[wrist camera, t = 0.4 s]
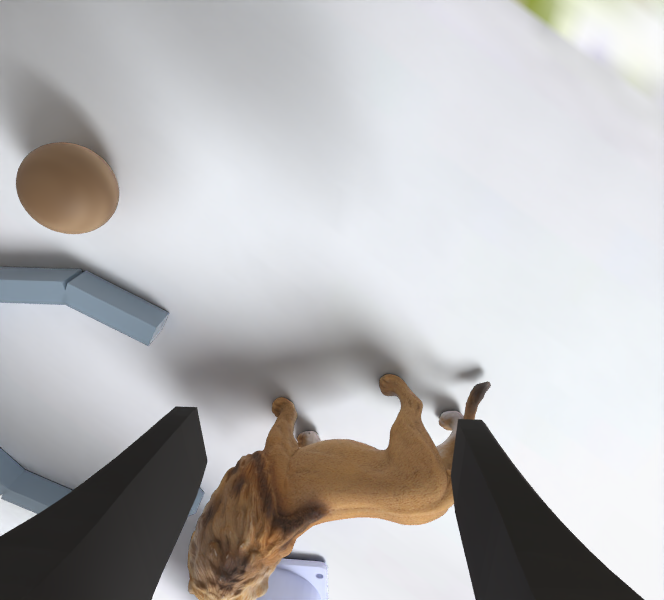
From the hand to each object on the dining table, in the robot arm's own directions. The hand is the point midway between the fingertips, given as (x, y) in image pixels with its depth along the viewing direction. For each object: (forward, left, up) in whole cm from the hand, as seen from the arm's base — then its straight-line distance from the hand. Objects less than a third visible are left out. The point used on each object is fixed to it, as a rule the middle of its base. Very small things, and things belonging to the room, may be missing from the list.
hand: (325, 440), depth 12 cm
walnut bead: (+5, +11, -10) cm, 16 cm away
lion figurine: (-8, 0, -10) cm, 13 cm away
